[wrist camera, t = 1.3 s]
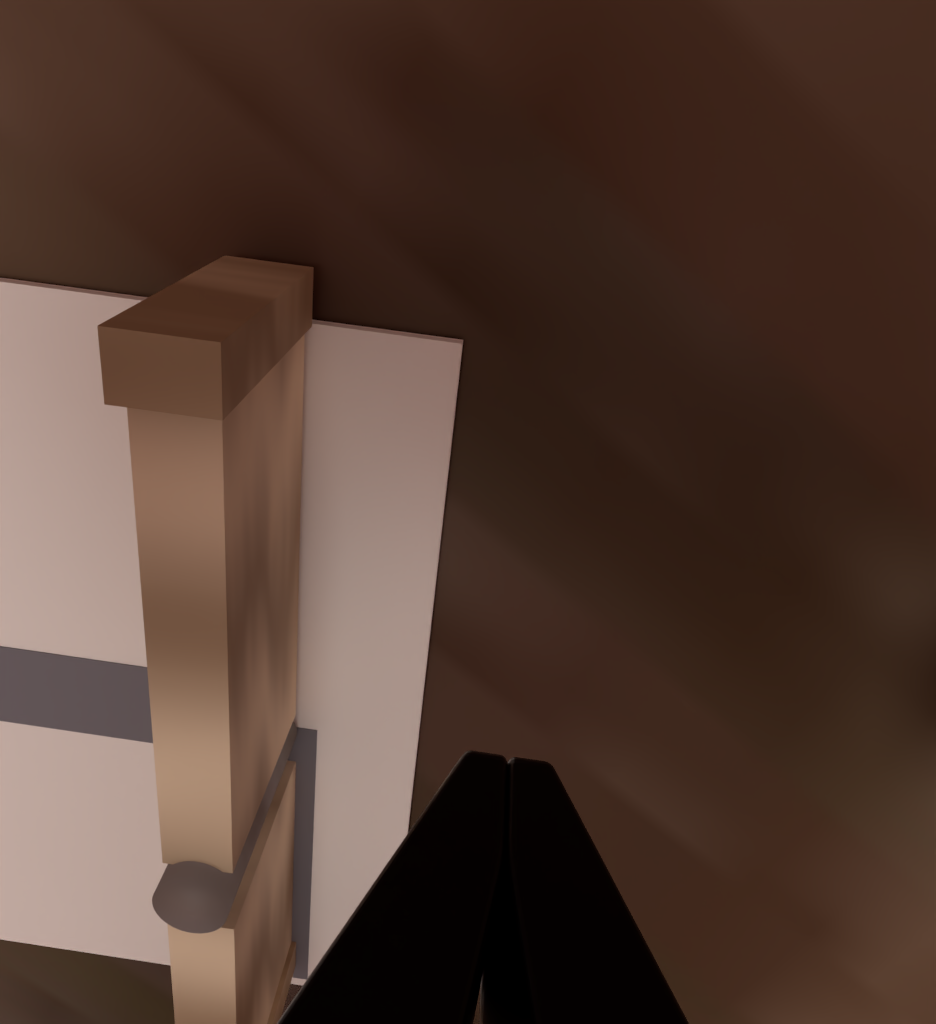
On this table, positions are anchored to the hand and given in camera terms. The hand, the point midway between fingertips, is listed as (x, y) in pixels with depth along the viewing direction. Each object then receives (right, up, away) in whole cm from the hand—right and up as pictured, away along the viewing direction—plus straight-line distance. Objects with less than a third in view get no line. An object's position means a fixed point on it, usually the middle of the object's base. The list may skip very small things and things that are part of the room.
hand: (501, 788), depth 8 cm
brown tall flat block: (-5, +2, +12) cm, 13 cm away
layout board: (-10, -2, +15) cm, 18 cm away
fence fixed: (-6, -8, +17) cm, 20 cm away
